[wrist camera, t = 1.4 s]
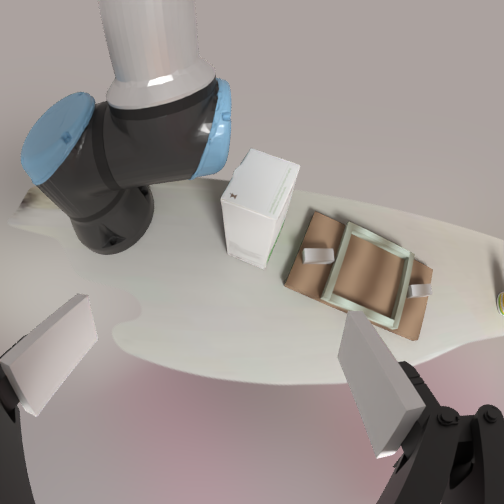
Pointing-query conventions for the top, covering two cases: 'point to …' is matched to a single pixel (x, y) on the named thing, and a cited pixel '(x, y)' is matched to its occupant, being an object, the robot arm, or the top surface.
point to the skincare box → (257, 205)
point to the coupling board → (362, 275)
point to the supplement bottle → (500, 303)
